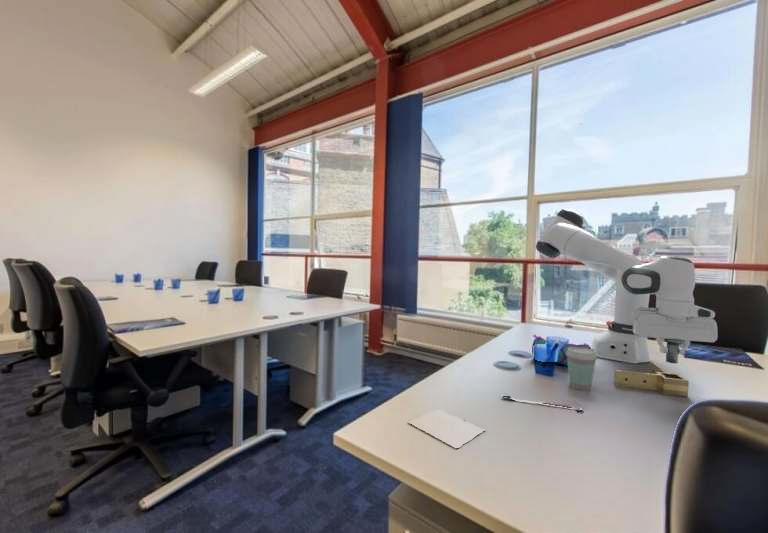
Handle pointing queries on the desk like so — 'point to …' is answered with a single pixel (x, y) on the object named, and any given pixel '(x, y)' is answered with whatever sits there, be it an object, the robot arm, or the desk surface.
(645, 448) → the desk surface
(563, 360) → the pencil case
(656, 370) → the hinge
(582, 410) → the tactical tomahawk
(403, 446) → the desk surface
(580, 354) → the coffee cup
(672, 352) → the hinge pin
